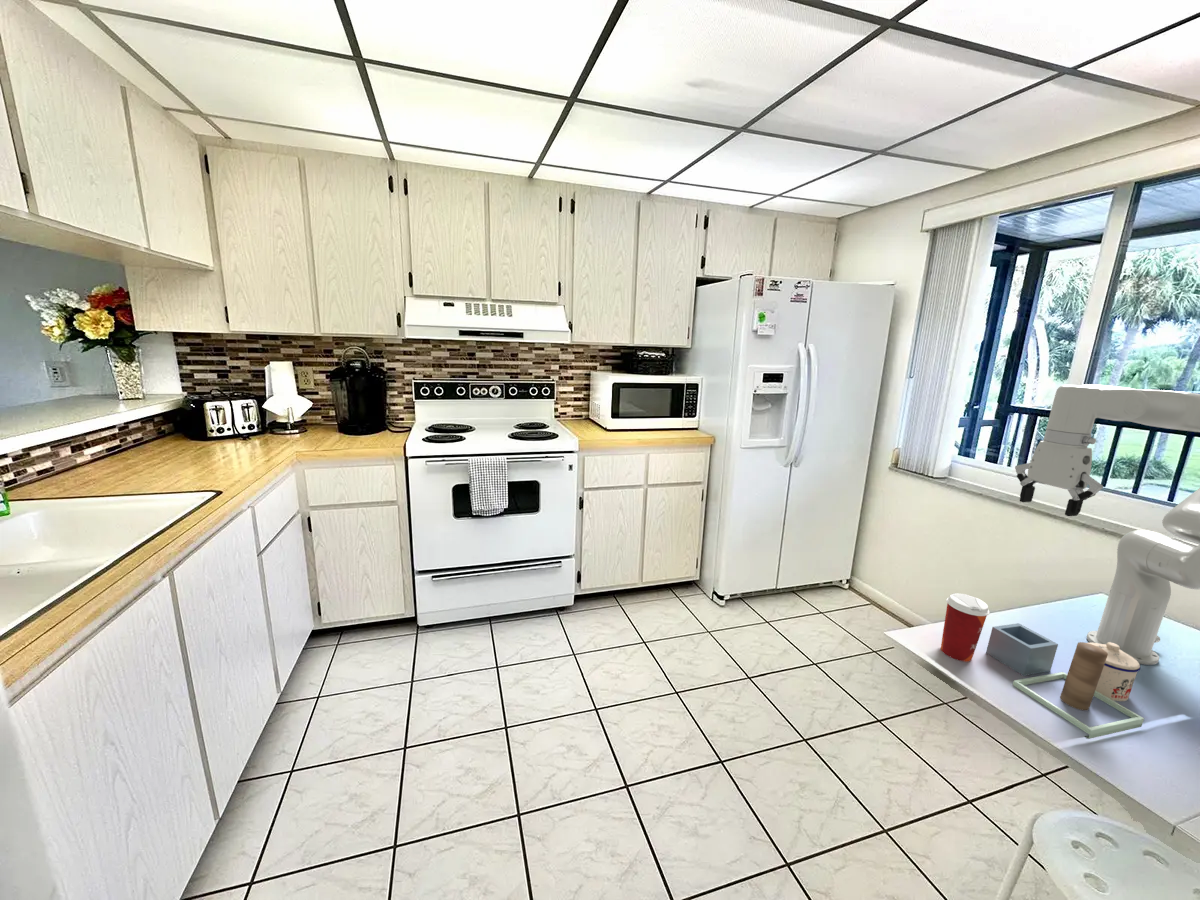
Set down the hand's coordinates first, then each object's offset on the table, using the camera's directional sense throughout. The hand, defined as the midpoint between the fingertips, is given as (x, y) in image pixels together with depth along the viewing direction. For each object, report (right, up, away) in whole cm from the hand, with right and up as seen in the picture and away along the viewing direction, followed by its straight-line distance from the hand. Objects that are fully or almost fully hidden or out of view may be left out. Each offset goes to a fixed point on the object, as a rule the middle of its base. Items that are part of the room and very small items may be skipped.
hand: (1047, 508), depth 115 cm
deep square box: (-9, -37, -1) cm, 38 cm away
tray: (-8, -40, -14) cm, 43 cm away
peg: (-8, -39, -14) cm, 43 cm away
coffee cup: (-22, -36, +1) cm, 42 cm away
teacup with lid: (+4, -40, -8) cm, 41 cm away
